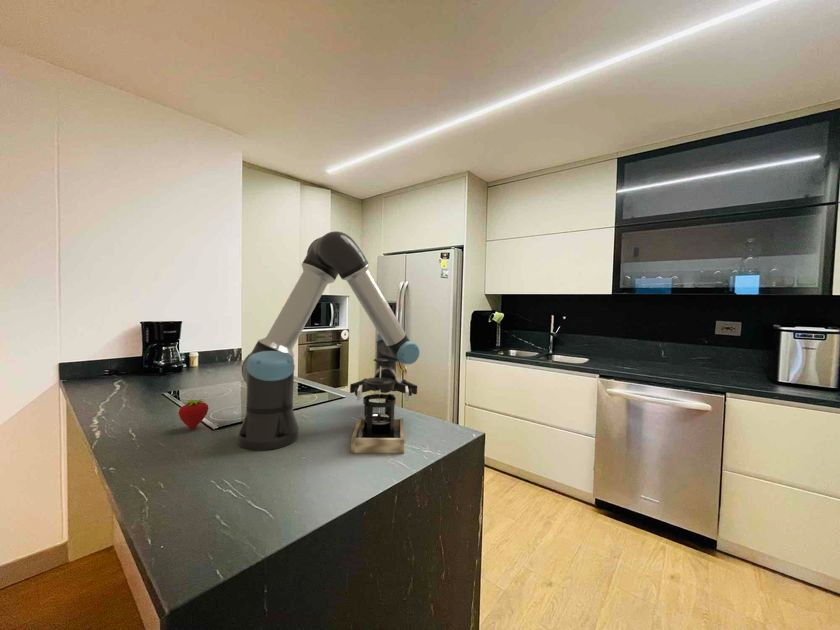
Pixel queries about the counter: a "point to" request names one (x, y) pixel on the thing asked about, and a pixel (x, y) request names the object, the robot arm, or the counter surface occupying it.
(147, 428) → the counter surface
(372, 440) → the wooden frame
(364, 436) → the french press
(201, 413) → the strawberry
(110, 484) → the counter surface
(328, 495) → the counter surface
